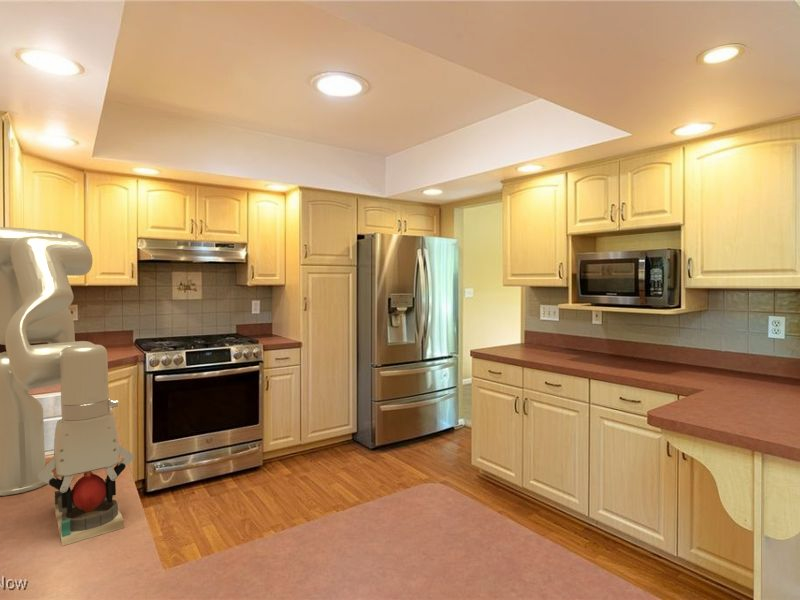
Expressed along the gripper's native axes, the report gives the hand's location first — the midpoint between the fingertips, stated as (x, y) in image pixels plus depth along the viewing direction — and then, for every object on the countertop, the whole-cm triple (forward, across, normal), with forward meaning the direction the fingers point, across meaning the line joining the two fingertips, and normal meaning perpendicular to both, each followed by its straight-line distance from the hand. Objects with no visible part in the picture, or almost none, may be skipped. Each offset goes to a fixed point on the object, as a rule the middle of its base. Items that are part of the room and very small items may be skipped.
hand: (89, 504), depth 90 cm
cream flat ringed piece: (+4, 0, -4) cm, 6 cm away
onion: (+2, 0, 0) cm, 2 cm away
